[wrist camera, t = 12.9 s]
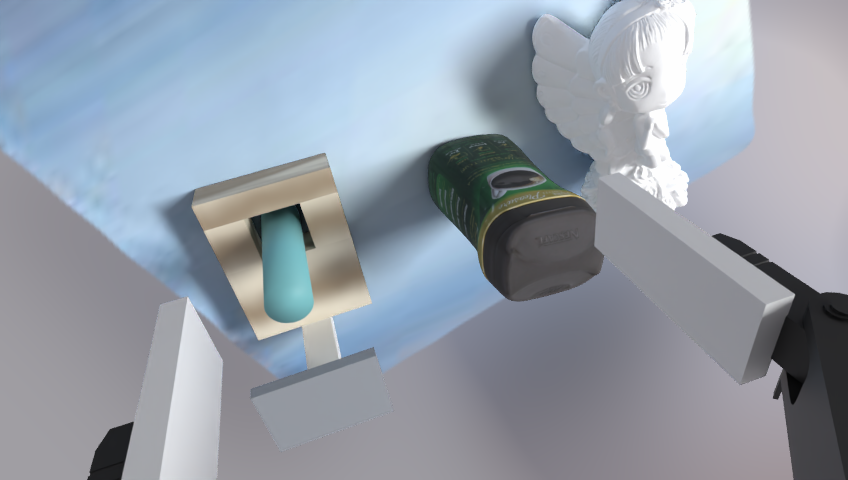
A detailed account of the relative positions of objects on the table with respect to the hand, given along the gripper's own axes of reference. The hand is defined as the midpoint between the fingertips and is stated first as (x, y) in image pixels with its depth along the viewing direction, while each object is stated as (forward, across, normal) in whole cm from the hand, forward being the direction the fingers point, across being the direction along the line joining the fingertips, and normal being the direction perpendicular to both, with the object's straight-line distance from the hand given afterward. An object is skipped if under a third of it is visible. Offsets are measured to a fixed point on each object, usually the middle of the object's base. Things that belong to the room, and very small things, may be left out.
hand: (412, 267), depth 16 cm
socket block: (+32, -7, -17) cm, 37 cm away
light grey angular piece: (+32, -7, -24) cm, 41 cm away
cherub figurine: (+33, +27, -10) cm, 43 cm away
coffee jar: (+32, +13, -15) cm, 38 cm away
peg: (+32, -7, -14) cm, 36 cm away
